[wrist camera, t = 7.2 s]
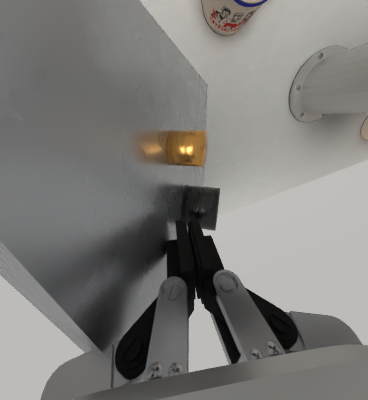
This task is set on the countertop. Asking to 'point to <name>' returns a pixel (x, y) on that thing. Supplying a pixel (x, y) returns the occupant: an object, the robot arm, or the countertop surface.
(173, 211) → the cooker lid
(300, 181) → the countertop surface
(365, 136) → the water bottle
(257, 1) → the teacup with lid
